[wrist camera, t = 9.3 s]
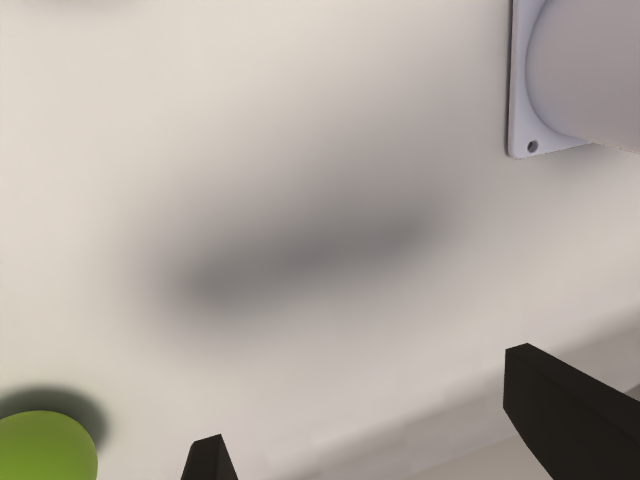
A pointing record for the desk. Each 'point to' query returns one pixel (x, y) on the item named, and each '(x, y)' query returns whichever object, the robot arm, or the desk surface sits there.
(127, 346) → the desk surface
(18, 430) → the snail figurine
